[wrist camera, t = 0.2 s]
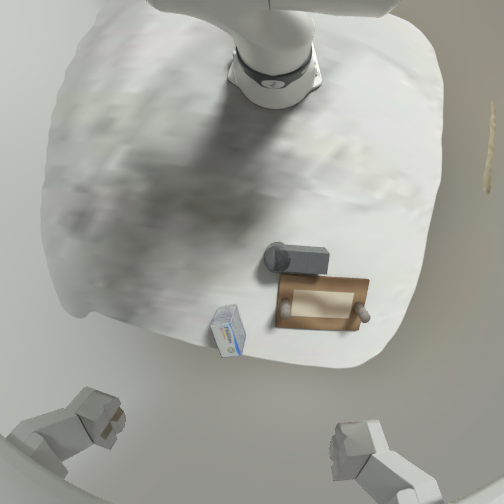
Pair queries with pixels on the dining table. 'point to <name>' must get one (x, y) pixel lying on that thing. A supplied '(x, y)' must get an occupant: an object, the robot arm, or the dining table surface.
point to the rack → (321, 302)
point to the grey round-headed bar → (296, 258)
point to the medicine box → (228, 331)
